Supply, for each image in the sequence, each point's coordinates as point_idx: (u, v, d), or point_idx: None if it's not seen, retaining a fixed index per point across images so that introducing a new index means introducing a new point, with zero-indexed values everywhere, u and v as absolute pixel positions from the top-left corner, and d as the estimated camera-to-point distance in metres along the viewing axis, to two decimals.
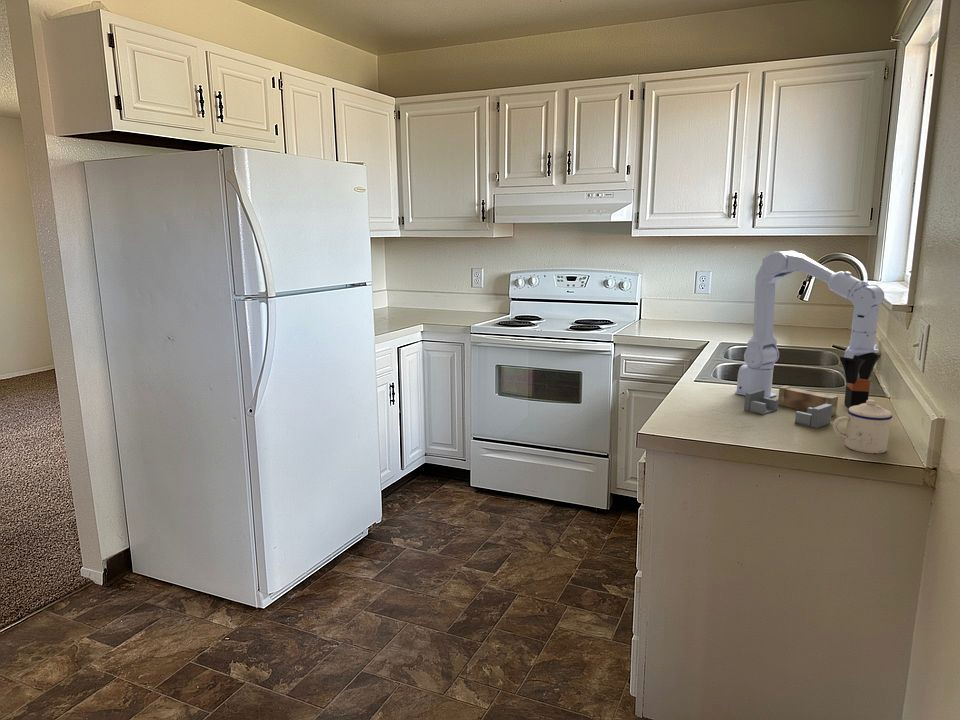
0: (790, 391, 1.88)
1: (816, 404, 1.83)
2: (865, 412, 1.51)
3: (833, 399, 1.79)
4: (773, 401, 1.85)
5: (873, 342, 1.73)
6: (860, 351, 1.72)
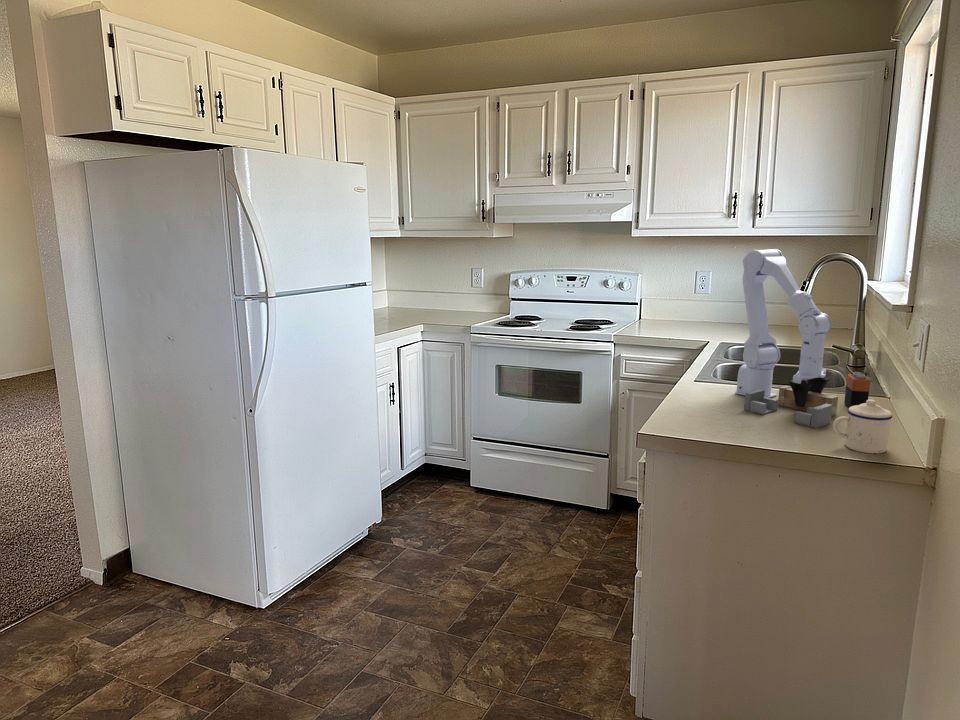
0: (790, 391, 1.88)
1: (816, 404, 1.83)
2: (865, 412, 1.51)
3: (833, 399, 1.79)
4: (773, 401, 1.85)
5: (820, 368, 1.82)
6: (807, 376, 1.81)
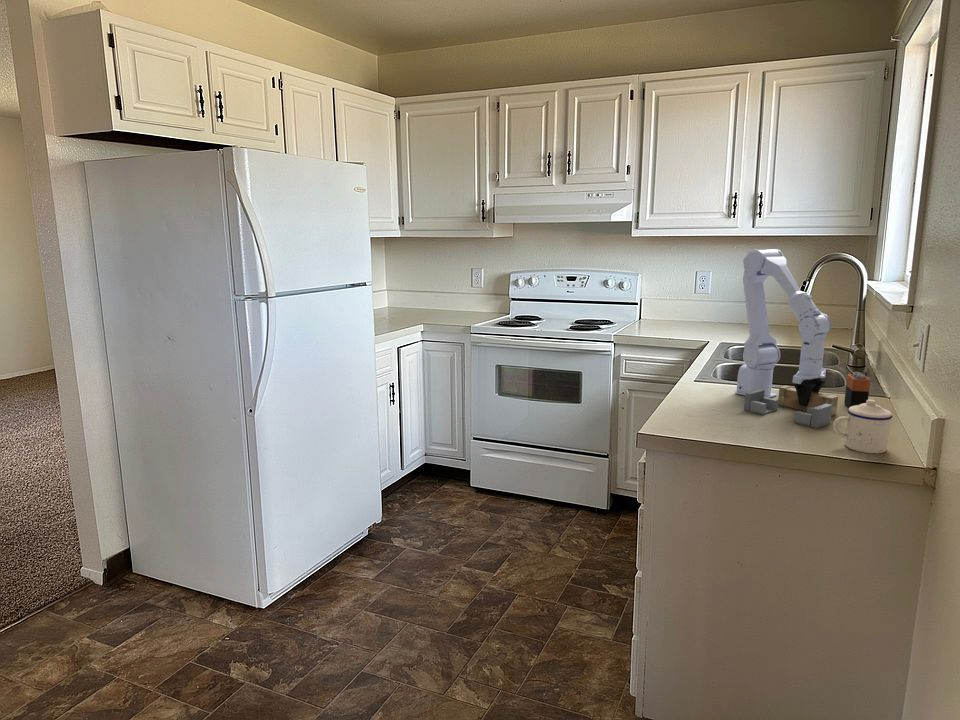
0: (790, 391, 1.88)
1: (816, 403, 1.83)
2: (865, 412, 1.51)
3: (833, 399, 1.79)
4: (773, 401, 1.85)
5: (820, 368, 1.82)
6: (807, 377, 1.81)
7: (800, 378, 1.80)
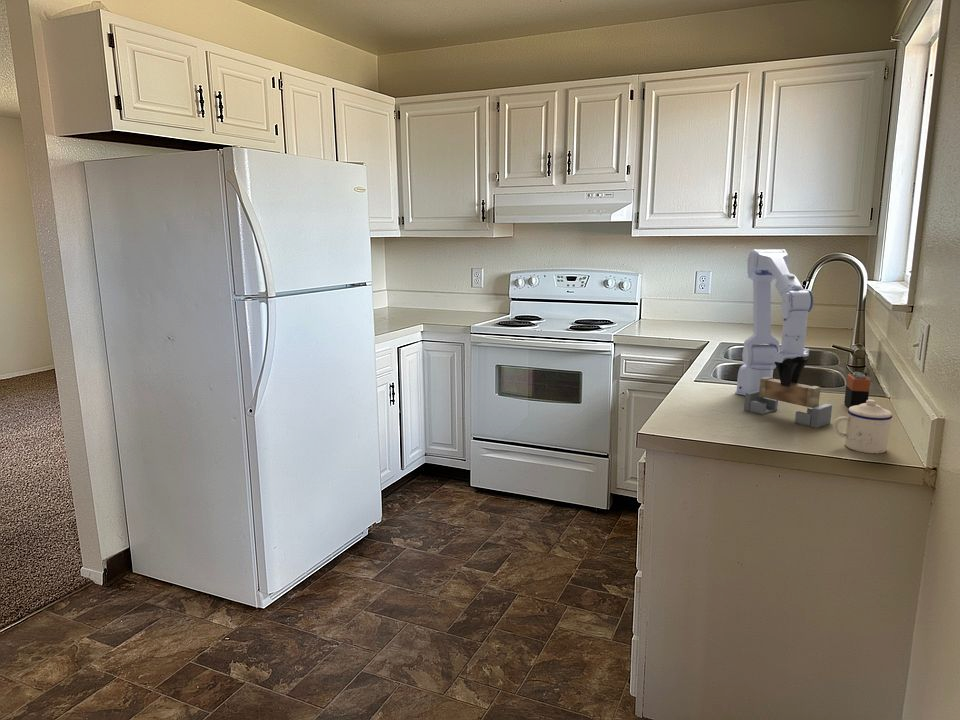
0: (771, 382, 1.81)
1: (798, 395, 1.75)
2: (865, 412, 1.51)
3: (815, 390, 1.72)
4: (773, 401, 1.85)
5: (802, 346, 1.74)
6: (789, 355, 1.73)
7: (781, 356, 1.72)
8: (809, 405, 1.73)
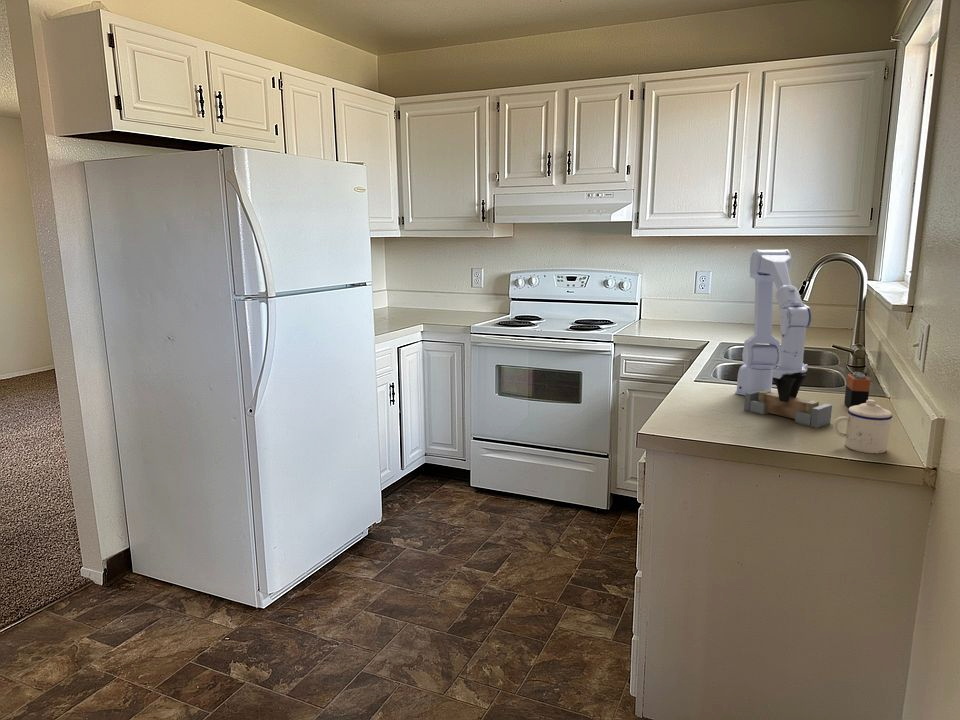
0: (770, 396, 1.81)
1: (797, 409, 1.76)
2: (865, 412, 1.51)
3: (814, 405, 1.73)
4: None
5: (801, 362, 1.75)
6: (787, 371, 1.74)
7: (780, 372, 1.73)
8: None
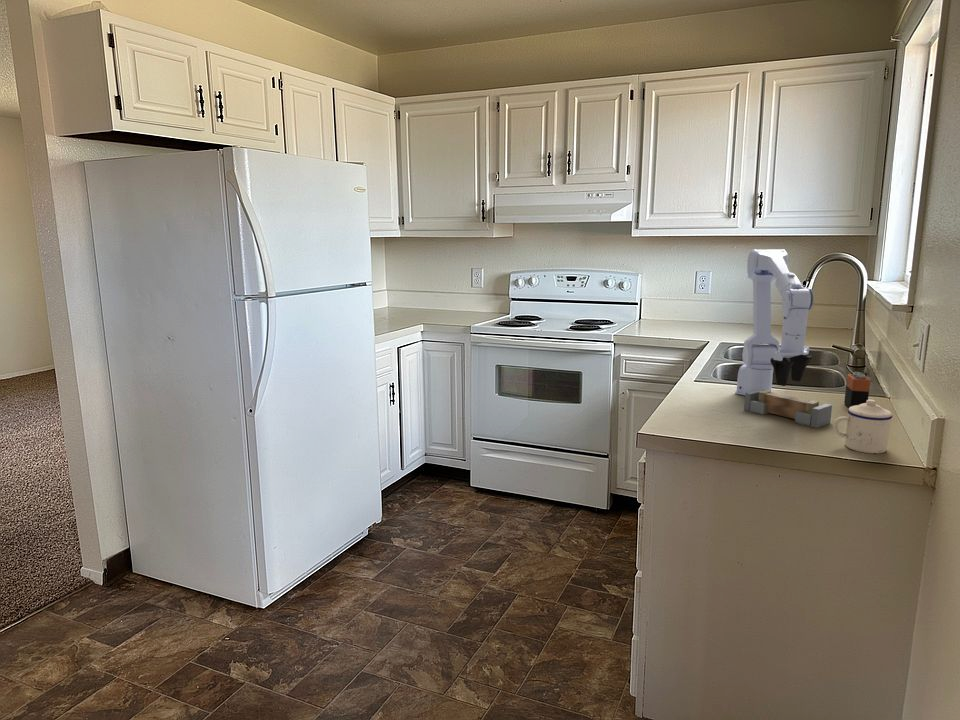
0: (770, 396, 1.81)
1: (797, 409, 1.76)
2: (865, 412, 1.51)
3: (814, 405, 1.73)
4: None
5: (802, 344, 1.74)
6: (789, 353, 1.73)
7: (781, 355, 1.72)
8: None
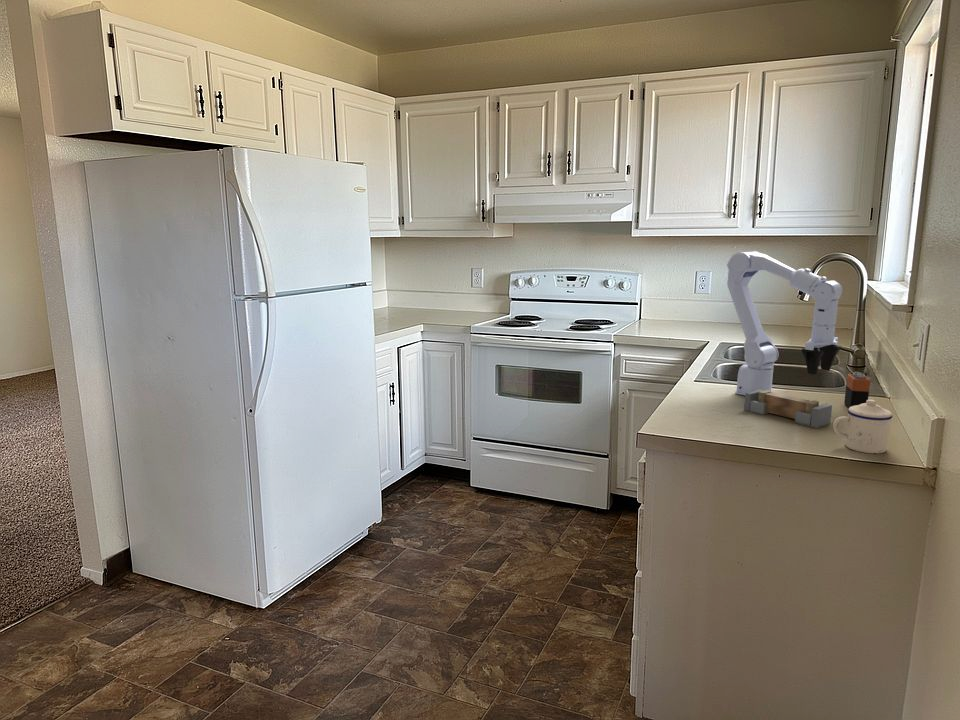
0: (770, 396, 1.81)
1: (797, 409, 1.76)
2: (865, 412, 1.51)
3: (814, 405, 1.73)
4: None
5: (832, 335, 1.82)
6: (820, 343, 1.81)
7: (813, 344, 1.80)
8: None
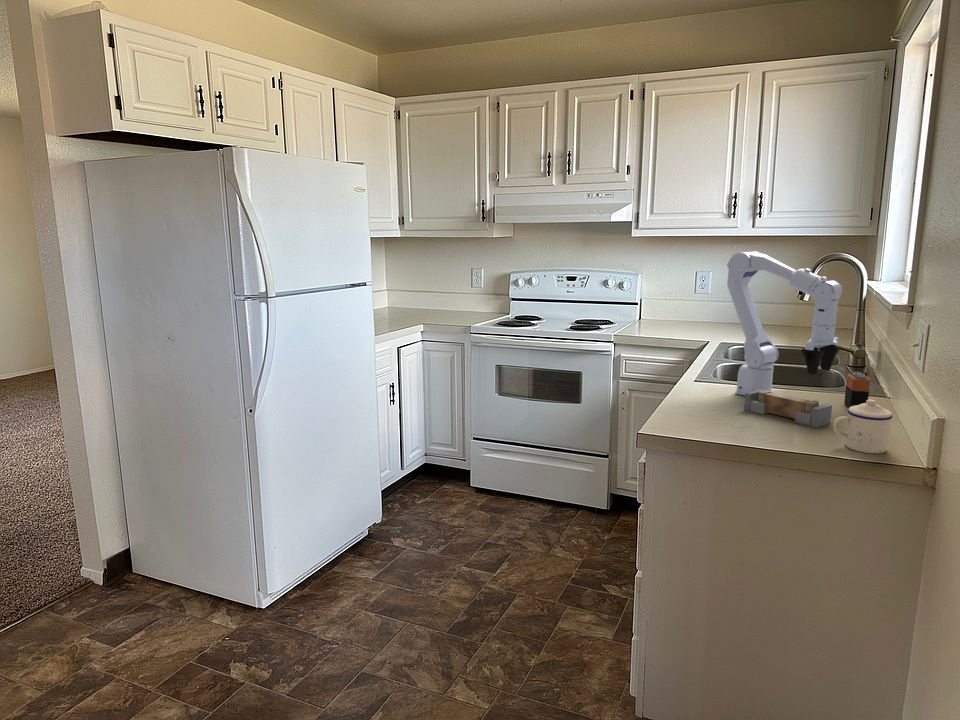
0: (770, 396, 1.81)
1: (797, 409, 1.76)
2: (865, 412, 1.51)
3: (814, 405, 1.73)
4: None
5: (832, 335, 1.82)
6: (820, 343, 1.81)
7: (813, 344, 1.80)
8: None
